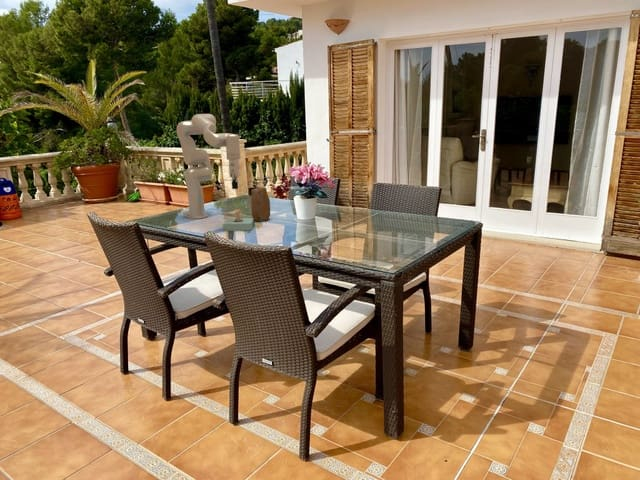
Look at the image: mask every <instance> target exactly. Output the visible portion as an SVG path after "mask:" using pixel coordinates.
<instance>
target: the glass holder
mask: <svg viewBox="0 0 640 480" xmlns="http://www.w3.org/2000/svg"><path fill="white" fill-rule="evenodd" d="M247 188H248V189H247V190H248V191H247V192H248V193H247V194H248V212H252V205H251V195H252V192H251V191H252V189H255V188H260V186H259V187H257V186H254V187H253V186H252V187H247ZM266 192H267V193H268V191H267V190H266Z"/></svg>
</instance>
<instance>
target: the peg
mask: <svg viewBox="0 0 640 480" xmlns="http://www.w3.org/2000/svg"><path fill="white" fill-rule="evenodd" d="M234 218H235V222H242V219H241V218H242V210H240V209H239V210H237V209H236V210H234Z"/></svg>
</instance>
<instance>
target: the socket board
mask: <svg viewBox="0 0 640 480" xmlns="http://www.w3.org/2000/svg"><path fill="white" fill-rule="evenodd" d="M241 219H242V222H235V217H234V218H225V220H224V221H223V223H222V231H223V232H233V231H234V232H235V231H236V232H238V231H239V232H240V231H252V230H253V228H254V224H255V223H254V222H255V221H254V220H253V218H252V217H241Z"/></svg>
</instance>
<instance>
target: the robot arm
mask: <svg viewBox="0 0 640 480" xmlns="http://www.w3.org/2000/svg"><path fill="white" fill-rule="evenodd" d="M216 124H217V119H216V117H215V116H214V115H213V114H211V113H197V114H195V115H193V116H192V118H191V120H184V121H180V122H179V123H178V124H177V127H176V134H177V135H176V136H177V137H178V140H179V143H180V145H181V150H182V152H181V153H182V157H183V161H184V163H185V164H186V165H187V166H192V167H189V168H187V169H186V170H185V171H184V180H185V184H186V189H187V191H186V192H187V200H188V210H182V214H183V215H187V216H186V217H187V219H190V220H197V219H198V220H199V219H205V218H207V217H208V214H207V213H206V212H205V210H206V209H205V201H204V200H205V198H204V189H203V187H202V185H201V184H200V183H202V182H208V181H211V180H212V178H213V172H212V166H211V160H210V155H209V152H207V150H206V149H204V148H203V149H202V148H198V149H197V147H196V146H197V145H196V142H195V140H194V139H193V137H191V136H192V135H193V136H195V135H202V136H203V139H204V141H205V142H206V143H207V144H208V145H209V146H210V147H213V148H225V149H226V150H225V152H226V160H228V173H229V177H230V178H231V189H232V190H238V189H239V185H238V184H239V183H238V178H239V177H240V176H241V169H240V160H241V150H240V149H241V148H240V147H241V146H240V136H239V134H236V133H234V134H233V133H230V132H229V133H228V132H224V133H222V132H221V133H216V132H217V126H216ZM198 165H199V166H198ZM193 166H194V167H193Z"/></svg>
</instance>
